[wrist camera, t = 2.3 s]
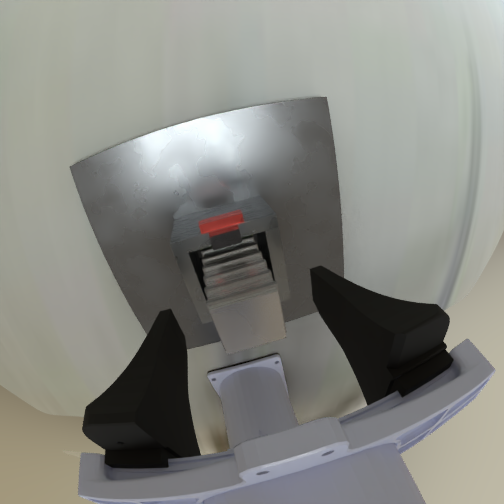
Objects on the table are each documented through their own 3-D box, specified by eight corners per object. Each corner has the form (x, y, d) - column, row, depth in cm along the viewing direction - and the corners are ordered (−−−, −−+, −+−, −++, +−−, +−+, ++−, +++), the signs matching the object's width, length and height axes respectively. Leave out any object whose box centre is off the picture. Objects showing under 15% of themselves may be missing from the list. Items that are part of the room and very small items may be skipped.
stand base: (339, 296, 25) (367, 333, 21) (160, 347, 24) (158, 394, 19) (320, 97, 17) (363, 93, 12) (75, 164, 15) (36, 182, 10)
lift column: (254, 260, 20) (288, 338, 13) (212, 272, 20) (226, 356, 13) (245, 220, 19) (279, 287, 11) (199, 233, 18) (205, 309, 11)
